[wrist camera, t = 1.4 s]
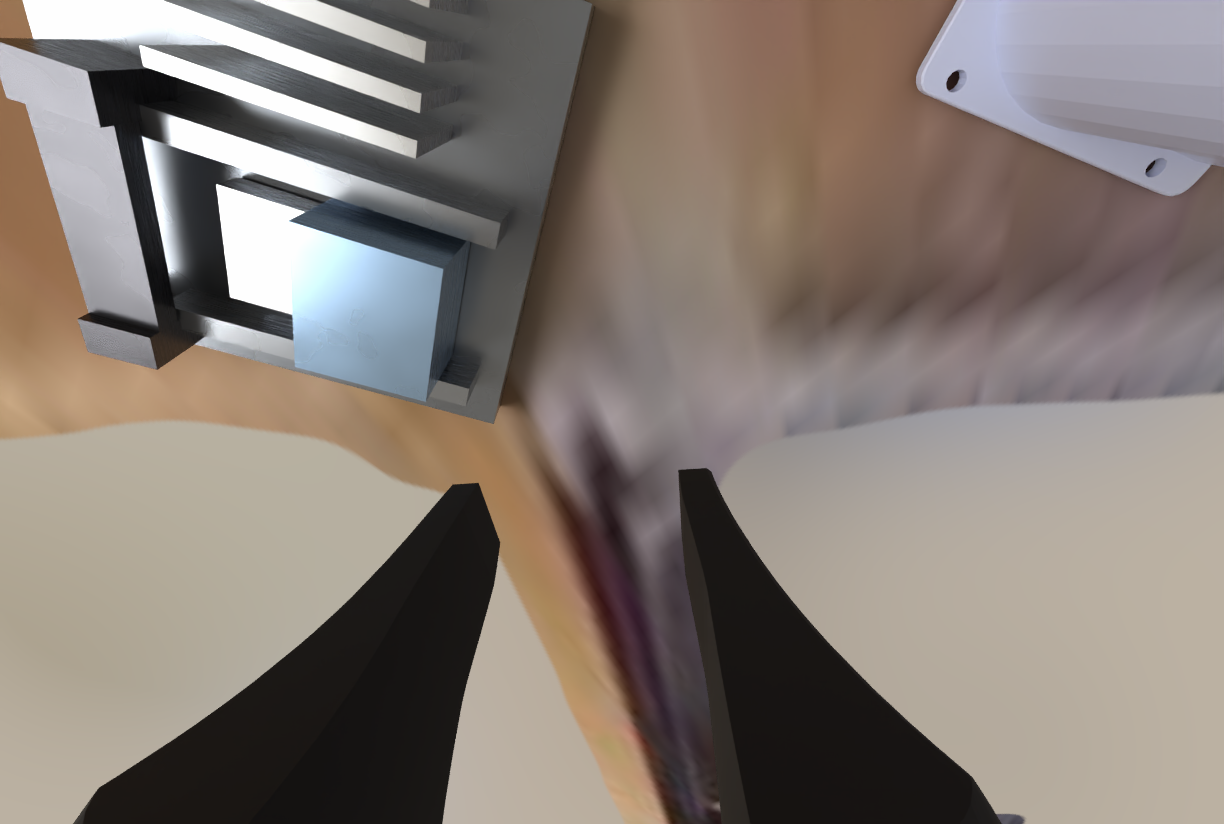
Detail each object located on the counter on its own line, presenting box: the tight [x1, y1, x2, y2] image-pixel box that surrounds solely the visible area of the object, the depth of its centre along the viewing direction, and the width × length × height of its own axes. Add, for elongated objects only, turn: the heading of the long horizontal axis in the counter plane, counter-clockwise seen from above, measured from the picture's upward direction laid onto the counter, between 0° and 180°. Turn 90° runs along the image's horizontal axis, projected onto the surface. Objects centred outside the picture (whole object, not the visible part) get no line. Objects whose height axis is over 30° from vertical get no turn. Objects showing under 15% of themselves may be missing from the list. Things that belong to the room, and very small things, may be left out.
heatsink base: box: [0, 0, 595, 424], centre depth 15 cm, size 14×14×4 cm
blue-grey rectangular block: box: [216, 177, 470, 402], centre depth 16 cm, size 7×5×3 cm, turn 72°
